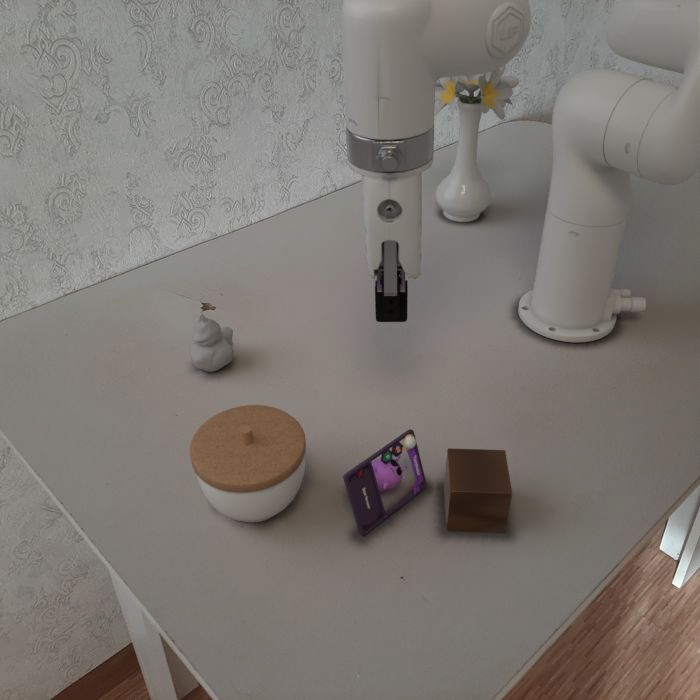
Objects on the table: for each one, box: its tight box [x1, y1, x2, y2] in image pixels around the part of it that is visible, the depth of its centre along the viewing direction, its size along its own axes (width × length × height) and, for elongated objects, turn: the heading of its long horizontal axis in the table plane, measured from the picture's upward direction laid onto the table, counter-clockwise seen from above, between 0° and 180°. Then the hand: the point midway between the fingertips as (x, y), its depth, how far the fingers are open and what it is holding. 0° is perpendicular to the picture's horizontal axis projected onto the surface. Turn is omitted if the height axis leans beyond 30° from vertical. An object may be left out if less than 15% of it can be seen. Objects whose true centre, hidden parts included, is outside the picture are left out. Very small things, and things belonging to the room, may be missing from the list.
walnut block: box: [443, 447, 513, 534], centre depth 68 cm, size 6×6×6 cm
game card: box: [342, 429, 428, 537], centre depth 70 cm, size 7×5×9 cm
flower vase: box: [434, 64, 520, 223], centre depth 114 cm, size 13×18×25 cm
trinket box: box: [189, 404, 307, 524], centre depth 68 cm, size 11×11×9 cm
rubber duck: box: [189, 313, 234, 372], centre depth 86 cm, size 5×7×8 cm
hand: (391, 317), depth 73 cm, fingers closed
